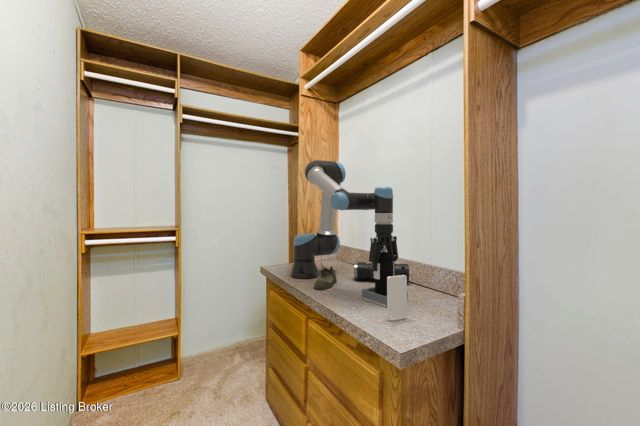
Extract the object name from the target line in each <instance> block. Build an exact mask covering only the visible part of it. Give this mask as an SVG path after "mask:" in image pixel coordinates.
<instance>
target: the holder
mask: <svg viewBox="0 0 640 426" xmlns="http://www.w3.org/2000/svg"><path fill="white" fill-rule="evenodd" d="M408 294H409V292H408V291H407V302H409V301H408V300H409V298H408ZM361 300H364V301H366V302H370V303H372V304H375V305H377V306H381V307H382V308H386V309H387V296H384V295H380V294H377V293H375V286H373V287H369V288H364V289H361Z"/></svg>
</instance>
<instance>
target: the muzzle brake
mask: <svg viewBox="0 0 640 426" xmlns="http://www.w3.org/2000/svg"><path fill="white" fill-rule="evenodd" d="M398 275H405V276H406V277H407V284H409V282H410V266H409V264H408V263H395V268H394V276H398ZM353 278H354V279H355V280H357V281H367V282H375V278H374V271H373V263H372V262H369V263H367V262H365V261H364V262H363V261H361V262H360V261H359V262H357V263H354V264H353Z"/></svg>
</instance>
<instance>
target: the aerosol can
mask: <svg viewBox="0 0 640 426" xmlns="http://www.w3.org/2000/svg"><path fill="white" fill-rule="evenodd" d="M375 260H376V259H375ZM378 263H380V279H375V281H374V287H375V293H377V294H380V295H384V296H387V277H389V276H394V257H393V256H392V255H391V254H390V253H387V250H386V247H385V246H384V248H382V251H381V255H380V258H379V262H378Z"/></svg>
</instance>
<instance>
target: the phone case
mask: <svg viewBox="0 0 640 426" xmlns="http://www.w3.org/2000/svg"><path fill="white" fill-rule="evenodd" d="M407 289H408V283H407V277H406V276H405V275H398V276H389V277H387V307H386V310H387V312H386V313H387V315H386V316H387V320H389V322H393V321H397V320H398V321H399V320H404V319H407V317H408V301H407V292H408V290H407Z"/></svg>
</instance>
